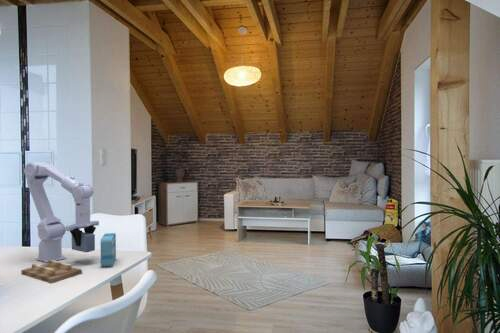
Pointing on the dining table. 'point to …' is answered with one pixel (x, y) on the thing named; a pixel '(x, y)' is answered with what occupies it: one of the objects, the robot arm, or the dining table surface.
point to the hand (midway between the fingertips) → (83, 244)
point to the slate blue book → (85, 243)
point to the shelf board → (51, 271)
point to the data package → (108, 249)
